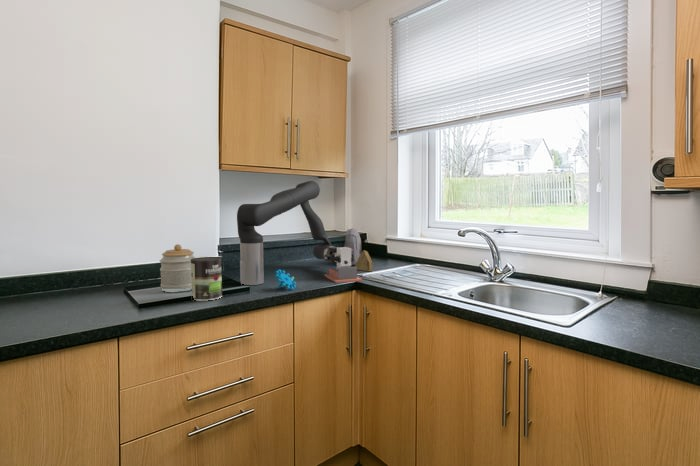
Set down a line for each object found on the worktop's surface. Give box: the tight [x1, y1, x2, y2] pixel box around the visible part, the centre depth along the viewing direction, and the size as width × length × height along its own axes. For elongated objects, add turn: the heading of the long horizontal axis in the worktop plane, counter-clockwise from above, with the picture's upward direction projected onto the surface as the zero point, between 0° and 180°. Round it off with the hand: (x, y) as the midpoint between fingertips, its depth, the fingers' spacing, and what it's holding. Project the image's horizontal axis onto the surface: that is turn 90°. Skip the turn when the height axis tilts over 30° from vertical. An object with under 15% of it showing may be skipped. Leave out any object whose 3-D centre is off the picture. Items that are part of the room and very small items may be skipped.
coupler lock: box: [336, 246, 352, 271], centre depth 167 cm, size 5×5×12 cm
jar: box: [159, 243, 196, 289], centre depth 147 cm, size 13×13×18 cm
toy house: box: [354, 249, 374, 272], centre depth 190 cm, size 11×9×10 cm
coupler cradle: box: [324, 266, 363, 284], centre depth 169 cm, size 12×16×6 cm
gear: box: [274, 269, 297, 291], centre depth 149 cm, size 11×6×10 cm
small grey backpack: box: [343, 227, 363, 266], centre depth 207 cm, size 15×8×20 cm, turn 169°
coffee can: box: [191, 256, 223, 302], centre depth 134 cm, size 10×10×14 cm
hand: (346, 259), depth 165 cm, fingers closed on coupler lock, 5 cm apart
